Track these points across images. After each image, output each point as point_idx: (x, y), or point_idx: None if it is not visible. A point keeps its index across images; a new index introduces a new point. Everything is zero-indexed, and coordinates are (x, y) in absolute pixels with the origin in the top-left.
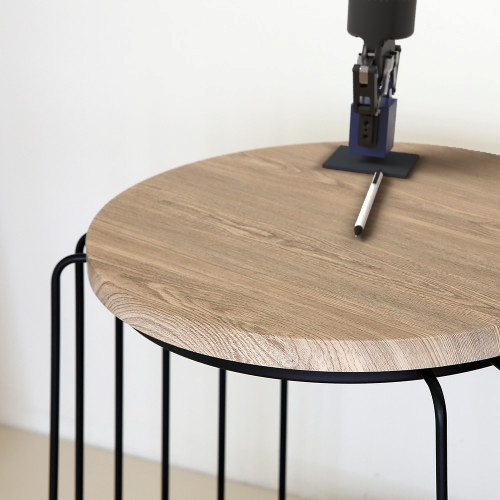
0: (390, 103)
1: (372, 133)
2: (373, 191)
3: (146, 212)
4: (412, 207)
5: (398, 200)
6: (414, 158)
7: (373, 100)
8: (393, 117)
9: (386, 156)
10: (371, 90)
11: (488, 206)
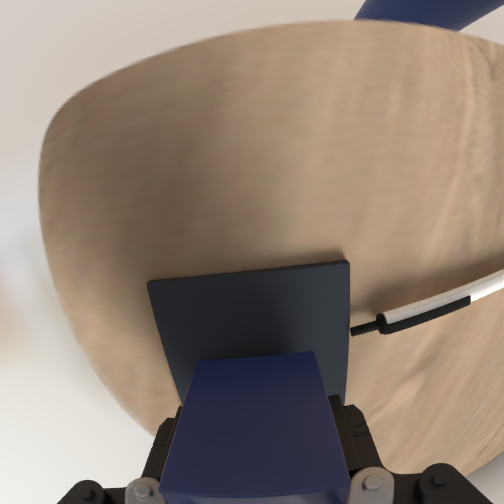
0: (262, 500)
1: (358, 429)
2: (494, 283)
3: (500, 442)
4: (491, 190)
5: (474, 228)
6: (188, 286)
7: (484, 497)
8: (226, 439)
9: (215, 356)
10: None
11: (418, 36)
